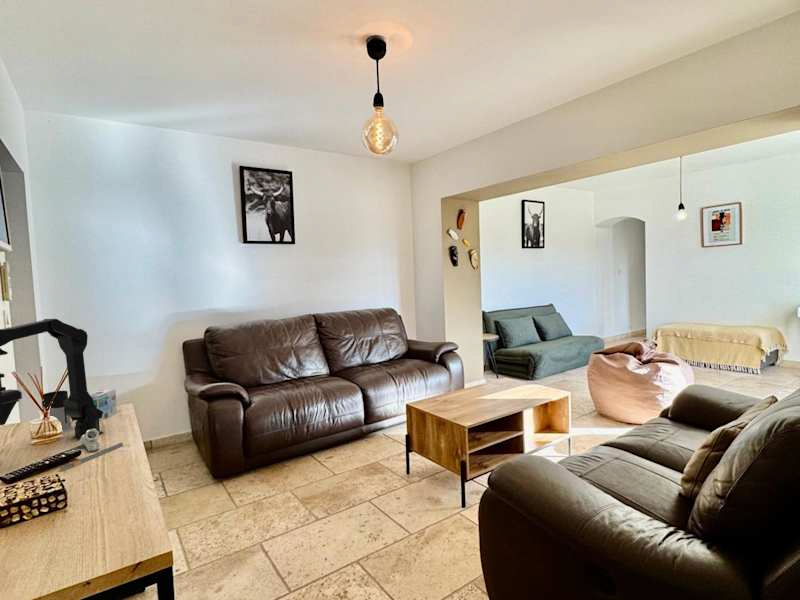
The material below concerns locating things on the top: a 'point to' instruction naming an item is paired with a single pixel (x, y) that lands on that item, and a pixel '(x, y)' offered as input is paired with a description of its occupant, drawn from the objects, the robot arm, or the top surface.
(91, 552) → the top surface
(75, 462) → the grey metal bars
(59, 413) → the glass holder
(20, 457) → the top surface
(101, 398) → the light bulb box
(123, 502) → the top surface
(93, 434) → the pipe fitting
